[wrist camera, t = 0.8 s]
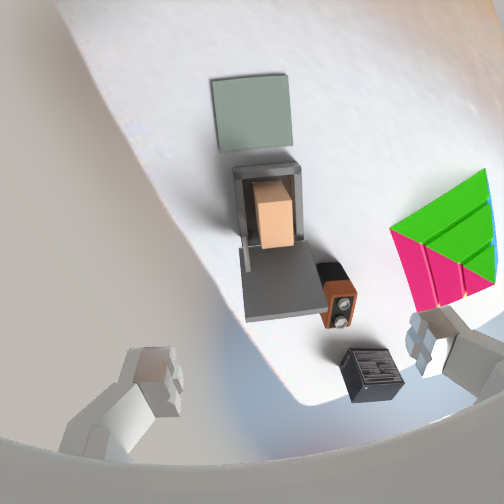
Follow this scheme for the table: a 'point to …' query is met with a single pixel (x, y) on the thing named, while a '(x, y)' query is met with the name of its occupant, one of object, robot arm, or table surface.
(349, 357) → the small box
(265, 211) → the block
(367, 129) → the table surface
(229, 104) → the rubber mat
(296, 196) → the equipment case
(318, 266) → the battery
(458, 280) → the pyramid toy
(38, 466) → the robot arm
